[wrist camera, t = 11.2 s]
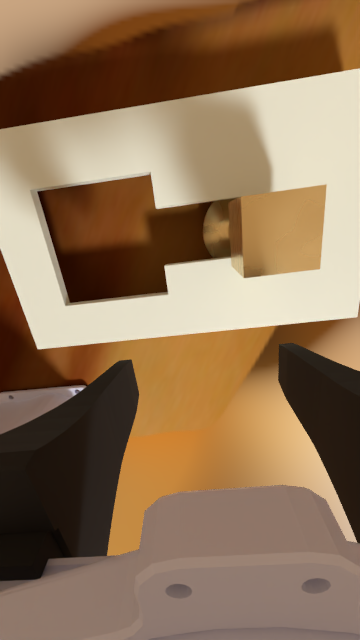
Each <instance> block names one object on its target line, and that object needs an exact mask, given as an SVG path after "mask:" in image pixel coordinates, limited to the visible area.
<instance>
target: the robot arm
mask: <svg viewBox="0 0 360 640" xmlns="http://www.w3.org/2000/svg"><path fill="white" fill-rule="evenodd" d="M278 378H279V379H278V380H279V383H280V385H281V388H282V390H283V393H284V395H285V397H286V399H287V401H288V403H289V404H290V406H291V408H292V409H293V411H294V412H295V414H296V416H297V417H298V419H299V421H300V422H301V424H302V426H303V427H304V429H305V431H306V432H307V434H308V435H309V437H310V439H311V441H312V442H313V444H314V446H315V448H316V450H317V452H318V454H319V456H320V458H321V460H322V462H323V464H324V466H325V468H326V471H327V473H328V475H329V477H330V479H331V482H332V484H333V486H334V488H335V490H336V492H337V494H338V497H339V499H340V502H341V504H342V506H343V509H344V511H345V514H346V516H347V518H348V520H349V523H350V525H351V528H352V530H353V532H354V535H355V537H356V540H357V543H355V542H349V541H346V539H345V537H344V535H343V533H342V531H341V529H340V527H339V525H338V523H337V521H336V519H335V517H334V515H333V513H332V511H331V509H330V508H329V505H328V504H327V501H326V500H325V499H324V498H322V497H320V496H319V495H317V494H316V493H314V492H313V491H311V490H310V489H307V488H304V487H296V486H286V485H275V486H260V487H245V488H230V489H216V490H215V489H214V490H199V491H184V492H178V493H174V494H171V495H166V496H163V497H161V498H159V499H158V500H157V501H155V502H154V503H153V504H152V505H151V506H150V507H149V508H148V509H147V510H145V513H144V520H143V527H142V534H141V541H140V548H139V549H138V550H135V551H131V552H128V553H125V554H121V555H116V556H107V550H108V542H109V535H110V529H111V521H112V514H113V509H114V503H115V497H116V491H117V485H118V479H119V474H120V469H121V464H122V460H123V456H124V452H125V449H126V445H127V442H128V439H129V435H130V432H131V429H132V425H133V422H134V419H135V415H136V411H137V405H138V398H139V391H138V386H137V382H136V378H135V373H134V369H133V364H132V360H122V361H118V362H117V363H116V364H114V365H113V366H112V367H110V368H109V369H108V370H107V371H106V372H104V373H103V374H102V375H101V376H99V377H98V378H97V379H96V380H95V381H93V382H92V383H91V384H89V385H88V386H85V385H77V386H66V387H54V388H43V389H32V390H21V391H9V392H1V393H0V640H360V371H357V370H354V369H352V368H349V367H347V366H344V365H342V364H339V363H337V362H334V361H332V360H330V359H327V358H325V357H323V356H321V355H319V354H316V353H314V352H312V351H310V350H308V349H306V348H303V347H301V346H299V345H296V344H294V343H288V344H279V376H278ZM77 390H79V391H77ZM12 396H13V397H12Z"/></svg>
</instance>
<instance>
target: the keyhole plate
mask: <svg viewBox="0 0 360 640" xmlns="http://www.w3.org/2000/svg"><path fill="white" fill-rule="evenodd" d="M145 175H151V178H152V185H153V192H154V199H155V205H156V209H161V208H168V207H176V206H183V205H190V204H197V203H205V202H212V201H219V200H226V199H233V198H239V197H242V196H249V195H256V194H263V193H270V192H277V191H284V190H291V189H298V188H304V187H311V186H318V185H325V184H327V188H326V201H325V213H324V226H323V239H322V252H321V264H320V269H317V270H309V271H301V272H292V273H284V274H275V275H267V276H259V277H250V278H243V277H242V276H241V275H240V274H239V273H238V272H237V271H236V270H235V269H234V268H233V267H232V266H231V256H229V257H221V258H213V259H205V260H196V261H188V262H180V263H172V264H165V266H164V268H165V275H166V282H167V288H168V292H162V293H153V294H144V295H135V296H126V297H118V298H109V299H100V300H91V301H82V302H74V303H70V301H69V298H68V294H67V291H66V288H65V284H64V281H63V277H62V274H61V271H60V267H59V264H58V260H57V257H56V254H55V250H54V247H53V244H52V240H51V237H50V233H49V230H48V227H47V223H46V220H45V216H44V213H43V210H42V206H41V203H40V200H39V196H38V193H37V191H43V190H50V189H57V188H64V187H70V186H77V185H84V184H91V183H97V182H104V181H111V180H118V179H124V178H131V177H138V176H145ZM0 249H1V251H2V254H3V257H4V260H5V262H6V265H7V268H8V270H9V273H10V276H11V278H12V281H13V284H14V287H15V289H16V292H17V295H18V297H19V300H20V303H21V305H22V308H23V311H24V314H25V316H26V319H27V322H28V324H29V327H30V330H31V332H32V335H33V338H34V341H35V343H36V346H37V349H45V348H55V347H65V346H75V345H85V344H95V343H105V342H115V341H125V340H135V339H145V338H155V337H164V336H174V335H184V334H194V333H204V332H214V331H224V330H234V329H244V328H254V327H264V326H274V325H283V324H294V323H303V322H313V321H323V320H333V319H343V318H352V317H357V315H358V309H359V301H360V69H354V70H348V71H342V72H336V73H330V74H324V75H319V76H313V77H307V78H301V79H295V80H289V81H283V82H277V83H271V84H265V85H259V86H253V87H247V88H242V89H236V90H230V91H224V92H218V93H212V94H206V95H200V96H194V97H188V98H182V99H176V100H171V101H165V102H159V103H153V104H147V105H141V106H135V107H129V108H123V109H117V110H111V111H105V112H100V113H94V114H88V115H82V116H76V117H70V118H64V119H58V120H52V121H46V122H40V123H34V124H28V125H23V126H17V127H11V128H5V129H0Z"/></svg>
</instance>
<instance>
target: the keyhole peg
mask: <svg viewBox="0 0 360 640" xmlns="http://www.w3.org/2000/svg"><path fill="white" fill-rule="evenodd" d="M326 188H327V184H325V185H318V186H311V187H304V188H298V189H291V190H284V191H277V192H270V193H263V194H256V195H249V196H242V197H239V198H233V199H226V200H219V201H214V202H213V203H212V204H211V206H210V207H209V209H208V211H207V213H206V215H205V218H204V223H203V239H204V243H205V246H206V248H207V250H208V252H209V253H210V255H211V256H212V257H213V258H221V257H229V256H231V266H232V267H233V268H234V269H235V270H236V271H237V272H238V273H239V274H240V275H241V276H242V277H243V278H250V277H259V276H267V275H275V274H284V273H292V272H301V271H309V270H317V269H320V264H321V252H322V239H323V226H324V213H325V201H326Z"/></svg>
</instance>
